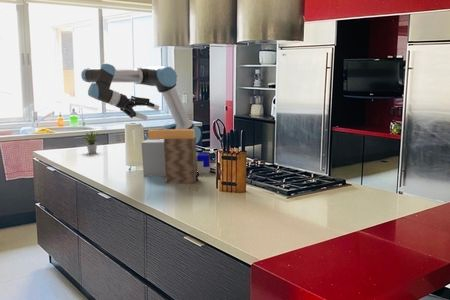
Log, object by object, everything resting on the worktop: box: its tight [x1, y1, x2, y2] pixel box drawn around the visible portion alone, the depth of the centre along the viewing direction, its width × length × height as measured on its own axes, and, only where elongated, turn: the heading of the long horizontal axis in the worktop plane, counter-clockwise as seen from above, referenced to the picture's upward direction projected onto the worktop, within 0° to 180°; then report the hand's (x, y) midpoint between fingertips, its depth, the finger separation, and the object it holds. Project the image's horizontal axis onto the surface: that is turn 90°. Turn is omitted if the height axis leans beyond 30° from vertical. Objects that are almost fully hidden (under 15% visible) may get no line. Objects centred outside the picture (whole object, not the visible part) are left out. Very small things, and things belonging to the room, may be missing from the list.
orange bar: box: [147, 128, 195, 140], centre depth 249 cm, size 24×4×4 cm, turn 82°
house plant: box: [80, 130, 102, 154], centre depth 339 cm, size 14×14×16 cm
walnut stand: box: [163, 137, 198, 184], centre depth 251 cm, size 15×9×23 cm, turn 82°
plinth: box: [140, 139, 166, 177], centre depth 268 cm, size 16×9×19 cm, turn 82°
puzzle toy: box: [196, 151, 211, 174], centre depth 274 cm, size 10×10×10 cm
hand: (152, 113), depth 263 cm, fingers open, 13 cm apart
